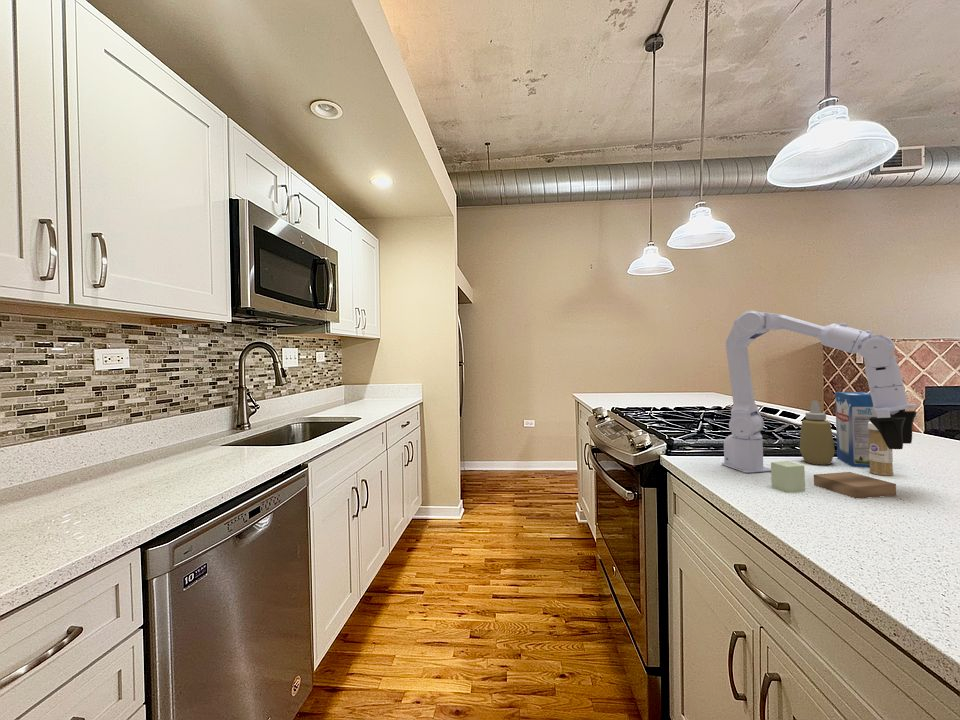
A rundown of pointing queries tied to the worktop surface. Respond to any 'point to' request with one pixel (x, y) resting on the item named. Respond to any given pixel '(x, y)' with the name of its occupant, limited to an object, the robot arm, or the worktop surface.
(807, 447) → the squeeze bottle
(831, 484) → the walnut block
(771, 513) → the worktop surface
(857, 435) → the milk carton
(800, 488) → the sage block
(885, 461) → the sprinkles bottle
